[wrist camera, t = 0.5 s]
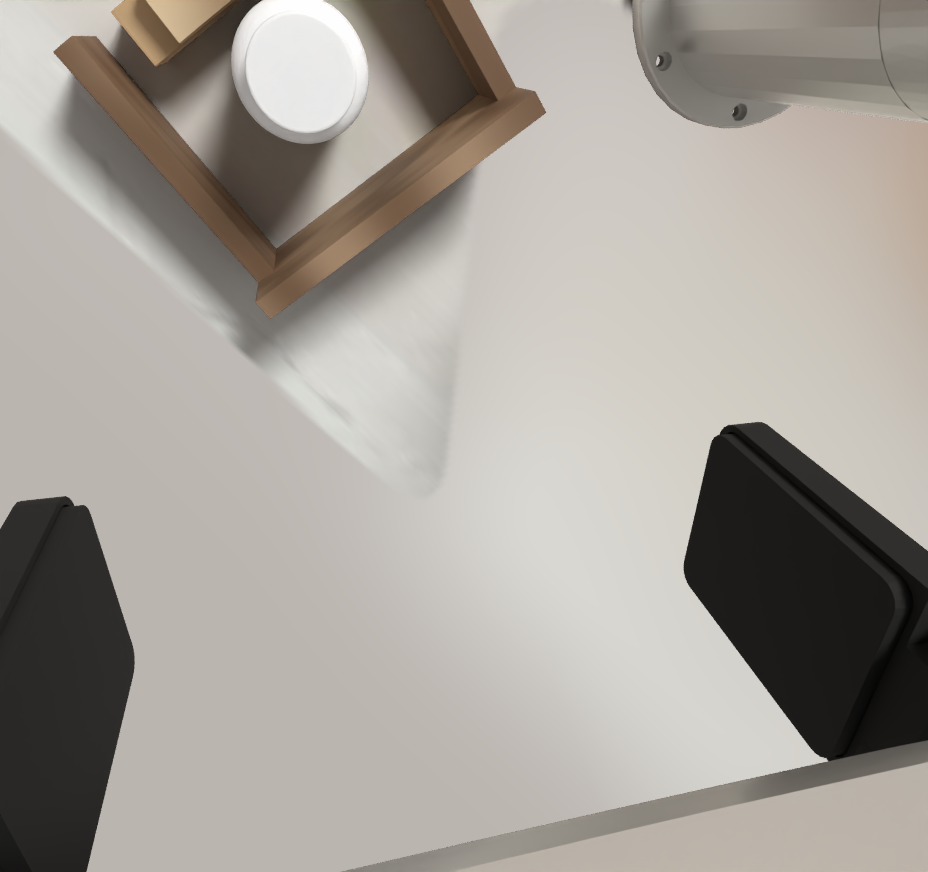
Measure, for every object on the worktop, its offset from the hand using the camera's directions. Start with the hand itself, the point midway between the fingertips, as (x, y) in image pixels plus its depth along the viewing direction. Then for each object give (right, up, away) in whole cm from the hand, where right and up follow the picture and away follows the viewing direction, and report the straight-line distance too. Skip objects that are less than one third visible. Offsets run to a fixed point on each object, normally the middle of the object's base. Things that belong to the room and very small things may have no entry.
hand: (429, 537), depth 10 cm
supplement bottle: (-7, +20, +23) cm, 31 cm away
